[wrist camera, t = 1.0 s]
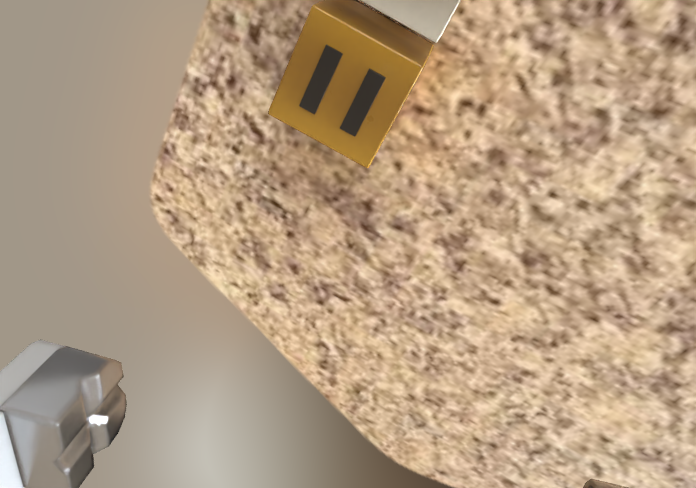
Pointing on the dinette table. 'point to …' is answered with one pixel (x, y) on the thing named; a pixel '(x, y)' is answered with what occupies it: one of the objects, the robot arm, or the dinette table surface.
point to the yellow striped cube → (349, 77)
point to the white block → (419, 14)
